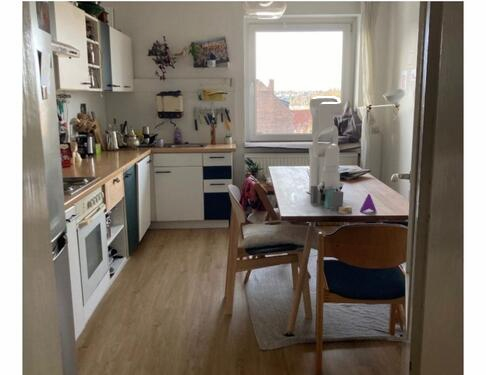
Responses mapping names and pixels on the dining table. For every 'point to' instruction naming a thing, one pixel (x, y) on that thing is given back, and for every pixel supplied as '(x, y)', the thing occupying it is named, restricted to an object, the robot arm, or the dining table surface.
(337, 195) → the tile
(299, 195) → the dining table surface
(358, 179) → the dining table surface
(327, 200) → the teal tile
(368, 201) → the arrowhead
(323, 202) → the tile
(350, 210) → the stop block
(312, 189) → the tile
